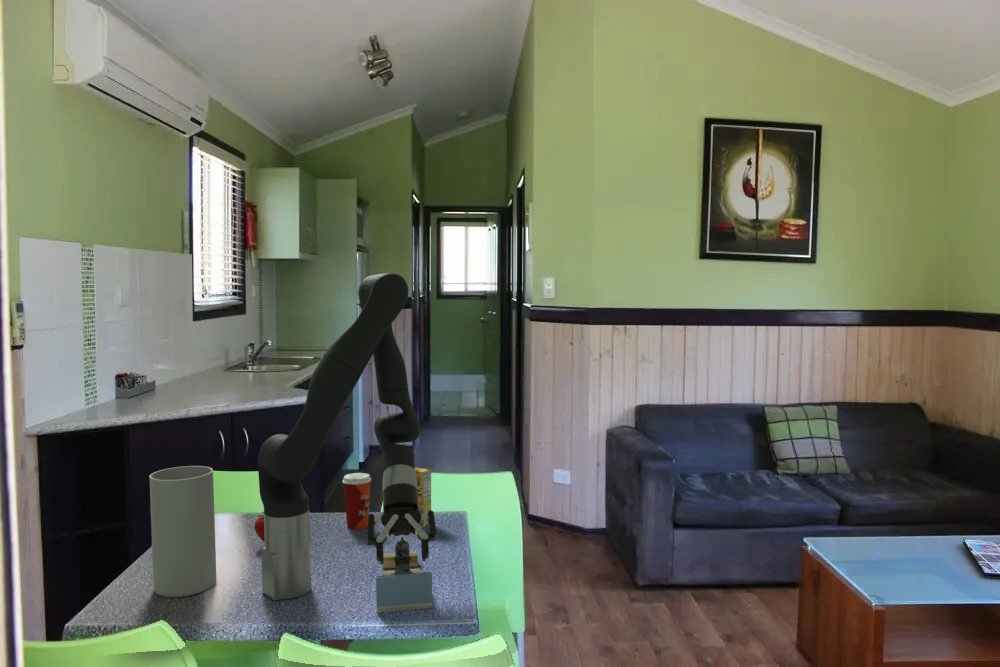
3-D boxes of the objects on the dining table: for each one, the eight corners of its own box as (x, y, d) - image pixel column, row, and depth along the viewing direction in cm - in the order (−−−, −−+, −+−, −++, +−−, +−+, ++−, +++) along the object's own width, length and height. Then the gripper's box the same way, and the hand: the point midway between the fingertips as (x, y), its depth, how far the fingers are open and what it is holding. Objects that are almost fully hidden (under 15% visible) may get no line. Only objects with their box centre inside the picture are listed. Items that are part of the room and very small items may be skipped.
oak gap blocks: (382, 564, 169) (382, 554, 169) (417, 562, 170) (416, 551, 170) (383, 586, 156) (383, 575, 156) (420, 583, 158) (420, 572, 157)
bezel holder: (376, 592, 153) (375, 560, 153) (428, 588, 155) (428, 556, 155) (376, 613, 144) (376, 578, 143) (432, 608, 145) (431, 574, 145)
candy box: (396, 523, 199) (395, 468, 198) (405, 519, 203) (404, 465, 202) (423, 528, 195) (422, 471, 194) (432, 523, 199) (431, 468, 198)
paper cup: (369, 531, 193) (368, 479, 192) (340, 531, 193) (339, 479, 192) (374, 521, 200) (373, 471, 200) (346, 522, 200) (345, 472, 200)
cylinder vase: (141, 597, 152) (136, 479, 151) (175, 574, 164) (171, 465, 163) (196, 600, 150) (192, 481, 149) (227, 576, 163) (223, 466, 161)
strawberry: (249, 548, 181) (247, 508, 180) (270, 539, 187) (269, 500, 187) (267, 551, 178) (266, 511, 177) (288, 542, 185) (287, 503, 184)
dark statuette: (382, 596, 148) (381, 538, 148) (399, 585, 154) (398, 530, 153) (406, 601, 146) (405, 543, 145) (422, 591, 151) (422, 534, 150)
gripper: (366, 483, 154) (367, 555, 144) (433, 480, 157) (439, 550, 146) (367, 501, 160) (368, 571, 149) (431, 497, 162) (437, 566, 152)
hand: (403, 561), depth 148 cm, fingers open, 8 cm apart
